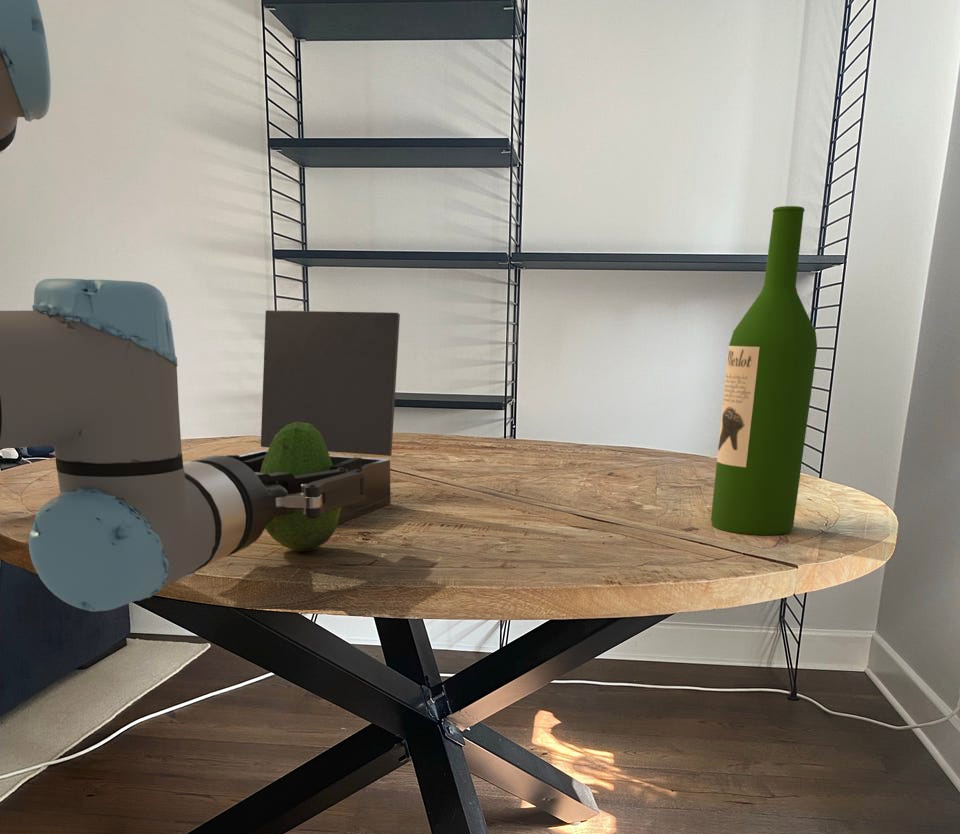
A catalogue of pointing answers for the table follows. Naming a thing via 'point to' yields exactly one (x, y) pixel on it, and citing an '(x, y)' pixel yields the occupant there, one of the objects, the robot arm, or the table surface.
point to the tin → (374, 485)
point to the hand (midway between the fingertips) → (316, 469)
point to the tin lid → (332, 377)
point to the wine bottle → (767, 397)
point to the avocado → (298, 455)
